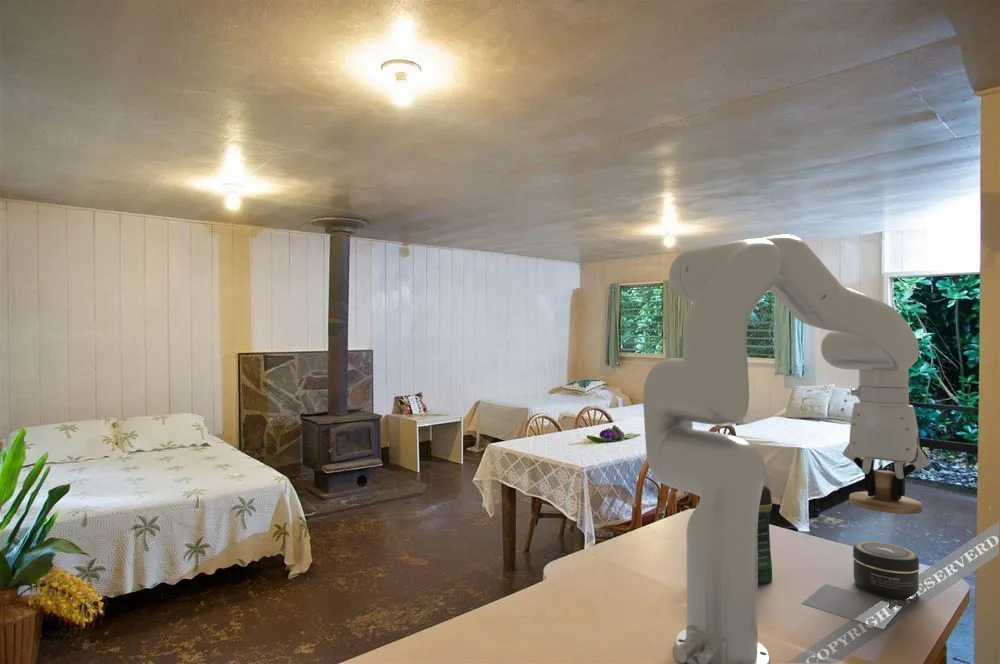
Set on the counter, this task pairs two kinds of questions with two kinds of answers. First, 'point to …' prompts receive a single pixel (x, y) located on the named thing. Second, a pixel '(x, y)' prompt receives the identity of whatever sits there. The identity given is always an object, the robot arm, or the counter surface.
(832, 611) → the mat
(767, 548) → the coffee jar
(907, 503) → the lid
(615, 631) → the counter surface
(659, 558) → the counter surface
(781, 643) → the counter surface
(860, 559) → the jar
